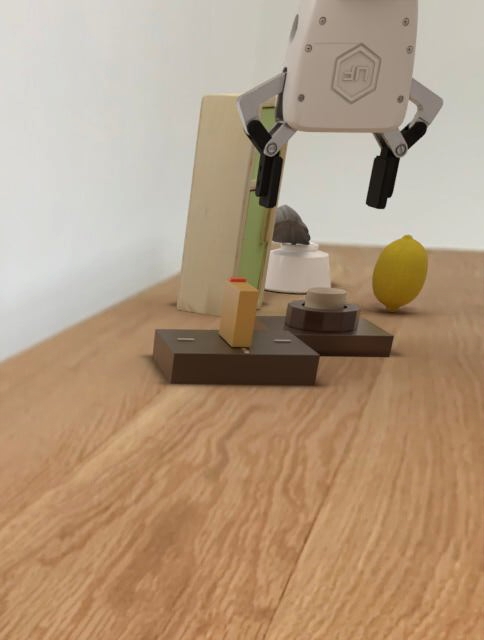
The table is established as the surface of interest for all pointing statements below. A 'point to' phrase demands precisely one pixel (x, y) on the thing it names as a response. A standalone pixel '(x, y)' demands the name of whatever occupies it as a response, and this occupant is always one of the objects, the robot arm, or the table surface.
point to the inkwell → (295, 257)
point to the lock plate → (234, 358)
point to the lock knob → (238, 312)
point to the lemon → (400, 273)
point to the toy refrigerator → (225, 208)
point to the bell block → (331, 330)
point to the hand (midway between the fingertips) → (321, 207)
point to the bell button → (325, 298)
